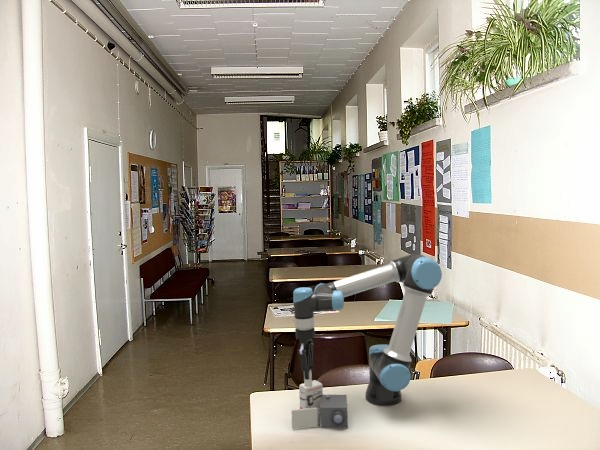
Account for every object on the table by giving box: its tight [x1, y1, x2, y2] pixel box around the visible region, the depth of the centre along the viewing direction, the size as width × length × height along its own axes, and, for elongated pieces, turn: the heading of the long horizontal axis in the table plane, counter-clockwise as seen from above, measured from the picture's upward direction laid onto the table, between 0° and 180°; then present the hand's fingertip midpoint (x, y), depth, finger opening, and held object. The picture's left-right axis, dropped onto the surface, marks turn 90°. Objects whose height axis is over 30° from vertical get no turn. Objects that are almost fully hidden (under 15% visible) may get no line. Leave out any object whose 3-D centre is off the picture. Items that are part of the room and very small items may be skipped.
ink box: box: [298, 379, 324, 409], centre depth 206 cm, size 8×5×12 cm, turn 123°
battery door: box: [291, 407, 321, 430], centre depth 192 cm, size 1×11×7 cm, turn 99°
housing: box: [320, 394, 349, 429], centre depth 196 cm, size 10×14×9 cm
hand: (308, 386), depth 200 cm, fingers closed
